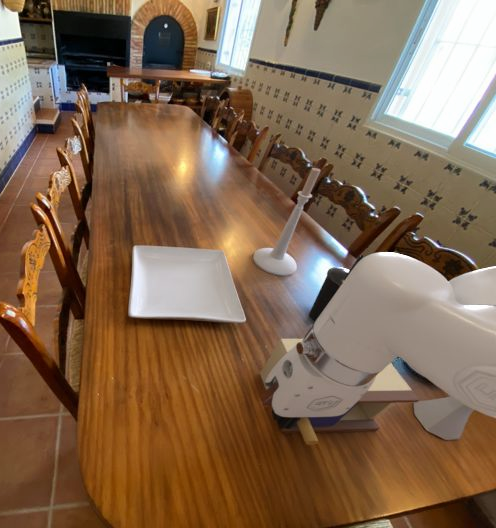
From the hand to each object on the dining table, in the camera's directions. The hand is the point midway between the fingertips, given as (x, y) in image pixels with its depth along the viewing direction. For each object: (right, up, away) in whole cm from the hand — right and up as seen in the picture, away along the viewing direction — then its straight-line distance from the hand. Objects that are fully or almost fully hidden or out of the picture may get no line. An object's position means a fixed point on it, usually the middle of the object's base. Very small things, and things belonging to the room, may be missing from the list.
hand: (280, 418), depth 46 cm
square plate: (-11, +17, +34) cm, 40 cm away
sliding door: (+8, -6, +6) cm, 12 cm away
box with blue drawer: (+12, -3, +12) cm, 17 cm away
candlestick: (+19, +24, +46) cm, 55 cm away
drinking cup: (+23, +10, +29) cm, 39 cm away
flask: (+34, -6, +11) cm, 37 cm away
